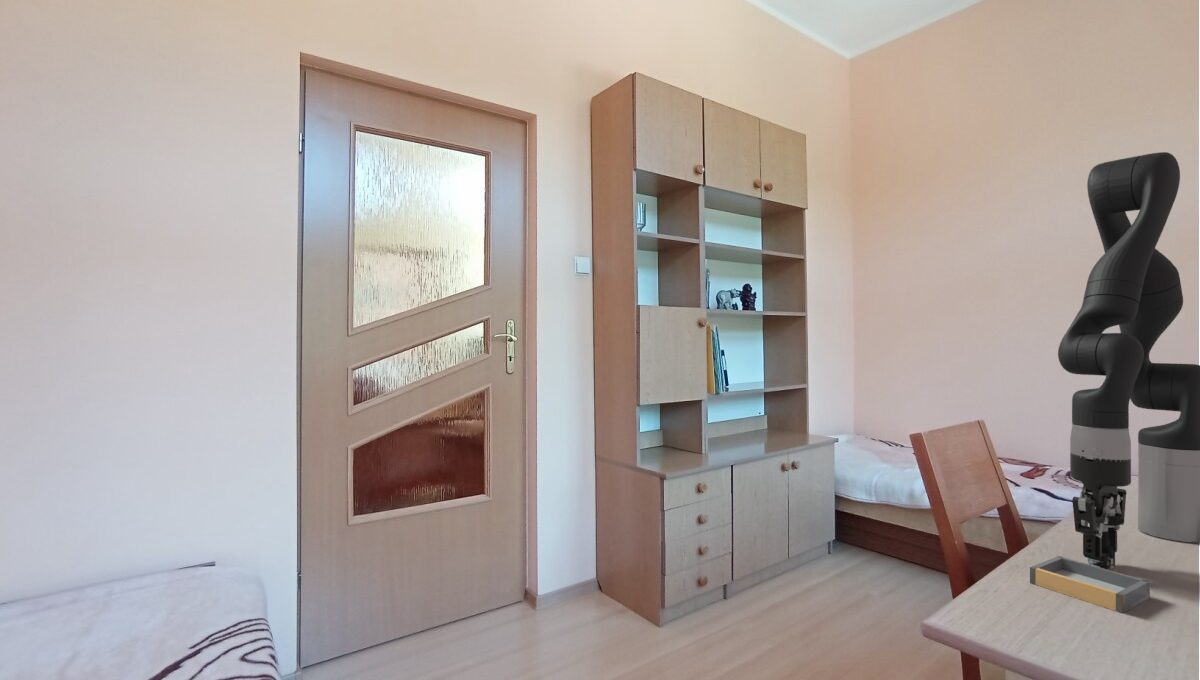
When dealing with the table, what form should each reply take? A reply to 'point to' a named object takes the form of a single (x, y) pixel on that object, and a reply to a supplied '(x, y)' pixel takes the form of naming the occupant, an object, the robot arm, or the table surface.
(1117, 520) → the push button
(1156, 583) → the table surface
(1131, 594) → the tray
